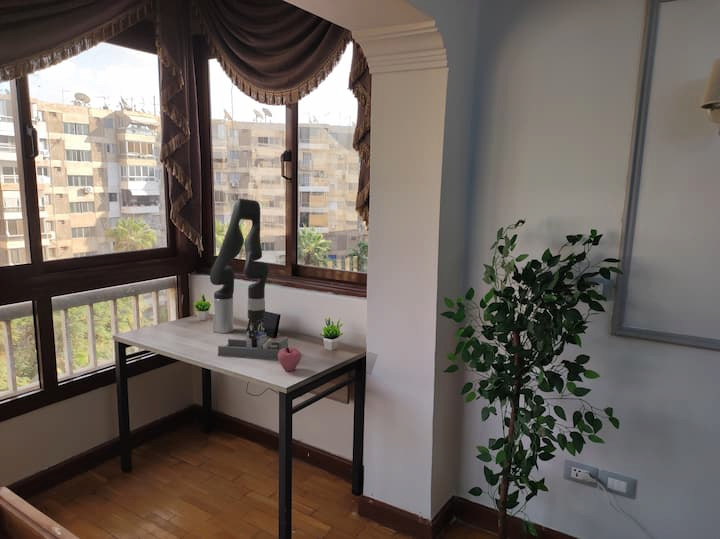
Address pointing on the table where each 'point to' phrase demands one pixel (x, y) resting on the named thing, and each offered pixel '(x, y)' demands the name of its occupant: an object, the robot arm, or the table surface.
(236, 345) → the lane
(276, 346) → the pusher
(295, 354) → the apple
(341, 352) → the table surface
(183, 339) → the table surface
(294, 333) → the table surface
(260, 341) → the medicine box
